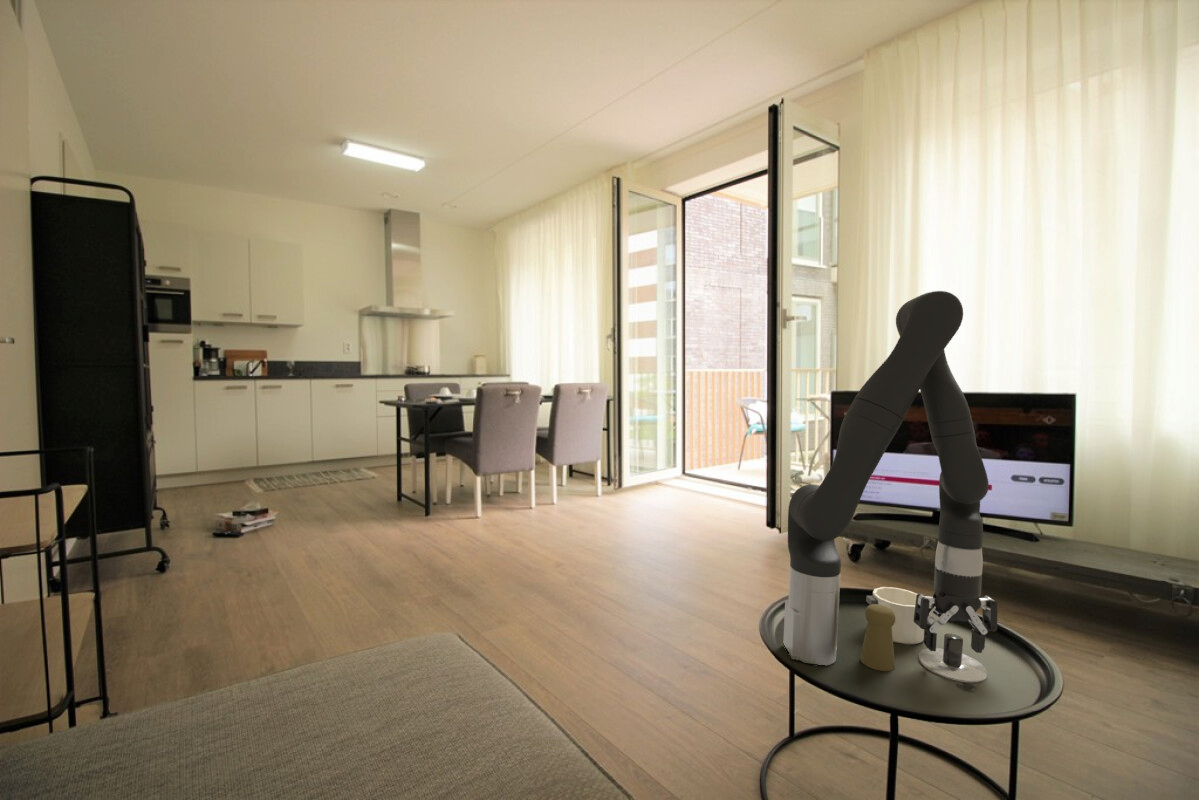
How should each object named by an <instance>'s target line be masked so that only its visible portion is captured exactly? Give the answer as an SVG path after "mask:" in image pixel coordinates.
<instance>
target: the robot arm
mask: <svg viewBox="0 0 1199 800" xmlns="http://www.w3.org/2000/svg"><path fill="white" fill-rule="evenodd" d="M963 317H964V308H963V305H962V302H961V300H960V299H959V298H958V297H957V295H955V294H954V293H952V292H950V291H947V290H934V291H929V292H926V293H923V294H921V295H919V296H915V298H912V299H909V300H908V301H907V302H905V303H904V304H903V305H901V307H900V308H899V309H898V311H897V313H896V317H895V327H896V330H897V332H898V335H899V338H898V340H897V342H896V344H895V346H894V348H892V351H891V352H890V354H889V355H888V356H887V358H886V359H885V360H884V361H883V362H882V364H880V366H878V368H877V369H876V370H875V371H874V372H873V374H872V375H870V377H869V378H868V380H866V382H865V383H864V384H863V385H862V386H861V388H860V389H859V391H858V392H857V394H856V395H855V397H854V399H853V401H852V402H851V405H850V406H849V408H848V409H847V411H846V413H845V415H844V418H843V419H842V422H841V425H840V429H839V435H838V438H837V439H838V440H837V445H836V450H835V451H836V452H835V456H834V459H833V462H832V464H831V466H830V469H829V470H828V472H827V474H826V475H825V477H824V479H823V480H822V481H821V484H820V485H818V484H813V483H812V484H805V485H802V486H801V487H799V488H797V489H796V490H795V492H793V494H792V495H791V498H790V500H789V504H788V509H787V510H788V511H787V548H788V552H789V557H790V559H789V560H790V561H789V563H790V564H789V565H790V566H789V579H788V580H789V585H788V599H785V601H784V616H783V617H784V621H783V622H784V623H783V642H782V644H783V643H784V645H785V647H786V648H787V649H788V651H789V652H790V653H791V655H792V656H797V657H800V658H801V659H804V660H806V661H809V662H812V663H815V664H818V665H825V666H830V665H832V664H834V663H835V662H836V660H837V650H838V630H839V629H838V628H839V611H840V610H839V609H840V608H839V607H840V588H841V571H842V570H841V569H842V560H841V556H840V554H839V553H838V550H837V548H836V547H837V546H836V543H835V539H838V538H839V537H840V536H841V535H842V534H844V533H845V531H847V528H849V526H850V524H851V522H852V519H853V517H854V515H855V512H856V510H857V508H858V505H859V503H860V500H861V498H862V496H863V493H864V492H865V489H866V487H867V484H868V483H869V481H870V478H871V477H872V475H873V473H874V472H875V470H876V468H877V467H878V465H879V463H880V461H881V459H882V457H883V456H884V454H885V452H886V450H887V448H888V447H889V445H890V443H891V442H892V440H893V438H894V437H895V435H896V434H897V433H898V430H899V429H900V427H901V425H902V423H903V421H904V420H905V417H906V415H907V414H908V411H909V410H910V408H911V405H912V404H913V402H914V401H915V399H916V397H917V395H918V393H919V391H920V394H921V397H922V401H923V407H924V409H925V414H926V415H925V416H926V419H927V425H928V428H929V432H930V436H931V440H932V443H933V446H934V448H935V450H936V452H937V456H938V460H939V466H940V474H939V481H938V482H939V483H938V488H939V489H938V491H939V493H938V495H939V497H938V498H939V509H940V511H939V512H940V515H939V523H938V536H937V537H938V538H937V545H936V550H935V558H934V560H935V561H934V562H935V563H934V577H933V579H934V580H933V587H934V593H933V595H932V596H929V595H927V596H926V595H924V594H923V593H916V594H917V596H916V604H915V612H914V623H916V624H917V625H918V626H919V627H920V628H921V629H924V641H923V644H924V645H925V647H926V649H929V650H930V651H936V648H937V640H938V639H937V638H938V633H937V630H938V629H940V628H941V626H945V624H946V623H947V622H948V621H949V622H957V621H959V622H965V623H966V622H968V623H969V624H970V625H971V627H972V629H971V637H970V639H971V641H970V647H971V648H970V649H972V650H973V651H974V652H975V653H977V654H982V653H983V651H984V650H985V647H986V645H985V644H986V634H988V632H993V633H994V632H996V631H998V601H996V600H994V598H993V599H992V598H991V597H990V596H988V595H984V596H983V597H980V596H981V594H982V583H983V581H982V580H983V564H984V562H983V561H984V559H983V534H984V528H983V527H984V524H983V520H982V517H981V513H980V512H981V510H980V509H981V501H982V500H984V498H985V497H986V495H987V494H988V491H989V486H990V485H989V484H990V483H989V479H988V475H987V471H986V468H985V467H986V466H985V465H984V461H983V458H982V455H981V453H980V450H979V448H978V445H977V440H976V438H977V437H976V433H975V432H976V431H975V428H974V423H973V420H972V414H971V411H970V406H969V404H968V401H967V399H966V397H965V395H964V392H963V391H962V389H961V387H960V386H959V383H958V382H957V379H955V376H954V374H953V373H952V370H951V368H950V366H949V363H948V361H947V357H946V353H945V349H946V348H947V346H948V345H949V343H951V340H952V339H953V338H954V336H955V335H956V334H957V332H958V331H959V328H960V327H961V325H962V322H963ZM932 604H933V606H934V607H933V608H931V605H932ZM980 608H982V619H980V617H979V615H978V614H977V613H976V612H978V610H979V609H980ZM930 609H931V610H930ZM929 610H930V611H929ZM939 615H940V616H939ZM785 647H784V648H785Z"/></svg>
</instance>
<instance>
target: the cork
mask: <svg viewBox="0 0 1199 800" xmlns="http://www.w3.org/2000/svg"><path fill="white" fill-rule="evenodd" d="M864 615H865V620H866V622H867V624H866V629H865V633H864V638H863V642H862V647H861V653H860V658H859V661H860V662H861V663H862V664H863V665H864V666H866V667H868V668H870V669H873V670H876V671H881V672H891V671H893V670H895V669H896V661H895V652H894V651H895V650H894V642H893V637H892V626H893V625H894V623H895V614H894V612H893V610H891V609H890V608H889V607H886V606H884V605H879V604H872V605H870V604H869V605H868V606H867V607H866V608H865V611H864Z"/></svg>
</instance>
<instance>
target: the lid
mask: <svg viewBox="0 0 1199 800" xmlns="http://www.w3.org/2000/svg"><path fill="white" fill-rule="evenodd" d="M943 636H944V637H943V638H944V639H943V648H940V647H939V648H938V647H936V651H930V650H929V649H928V648H924V649H922V650H920V651H919V653H918V661H919V663H920V664H921V665H922V666H923V667H924V668H925V669H926V670H929V671H930V672H932V673H933V674H935V675H938V676H940V677H943V678H946V679H948V680H952V681H956V682H962V683H973V684H974V683H980V682H983V681H985V680H986V679H987V677H988V675H987V674H988V671H987V668H986V667H985V665H983V664H982V663H981V662H980V661H978V660H977V659H974V658H973V657H971V656H969V655H966V654H964V653H963V646H964V644H963V643H964V639H963V637H961V636H960V635H958V634H954V633H945V634H944V635H943Z"/></svg>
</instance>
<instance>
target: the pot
mask: <svg viewBox="0 0 1199 800" xmlns="http://www.w3.org/2000/svg"><path fill="white" fill-rule="evenodd" d="M917 594H918V593H916V592H914V591H911V590H908V589H904V588H900V587H893V586H892V587H891V586H889V587H888V586H881V587H877V588H876V587H875V588H874V589H873V591H872V595H866V597H865V598H866V599H865V601H866V602H867V604H869V605H872V604H879V605H884V606H886V607H889V608H890V609H891V610H893V612H894V614H895V623H894V625H893V626H892V637H893V643H898V644H903V645H919V644H921V643H924V629H921V628H920V627H919V626H918V625H917V624H916V623H914V612H915V604H916V596H917ZM933 606H934V604H932V605H931V608H930V609H933V608H934V607H933Z"/></svg>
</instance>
